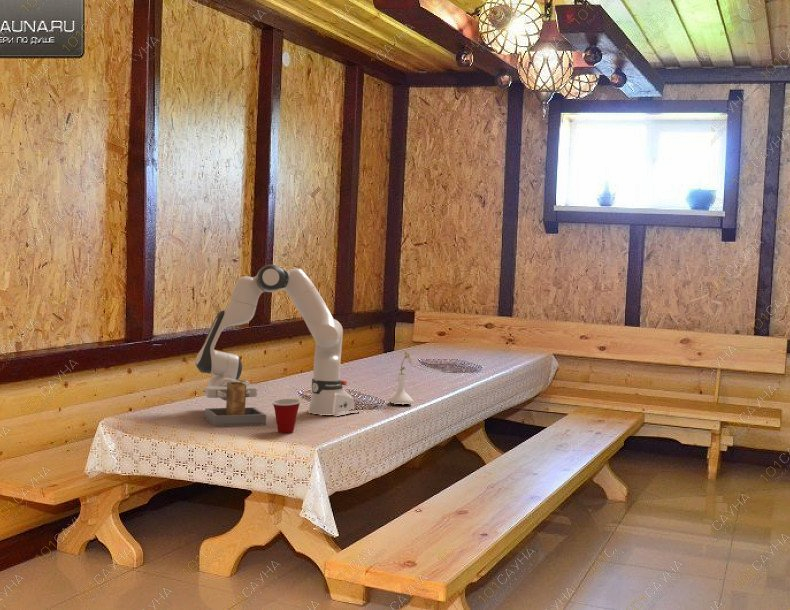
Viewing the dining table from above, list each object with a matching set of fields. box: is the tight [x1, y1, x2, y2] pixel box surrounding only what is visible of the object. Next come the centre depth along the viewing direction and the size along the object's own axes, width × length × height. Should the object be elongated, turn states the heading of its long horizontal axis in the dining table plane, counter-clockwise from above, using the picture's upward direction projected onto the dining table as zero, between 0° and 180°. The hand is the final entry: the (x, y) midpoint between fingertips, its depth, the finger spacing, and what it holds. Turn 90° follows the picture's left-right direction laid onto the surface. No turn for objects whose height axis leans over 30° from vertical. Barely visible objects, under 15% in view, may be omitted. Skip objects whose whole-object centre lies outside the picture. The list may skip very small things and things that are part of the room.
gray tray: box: [204, 406, 267, 428], centre depth 405 cm, size 20×16×4 cm
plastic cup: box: [271, 398, 301, 434], centre depth 390 cm, size 11×11×12 cm
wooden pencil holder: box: [225, 382, 247, 415], centre depth 404 cm, size 6×7×14 cm
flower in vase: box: [387, 347, 414, 403], centre depth 462 cm, size 13×11×25 cm
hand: (236, 395), depth 404 cm, fingers open, 8 cm apart
